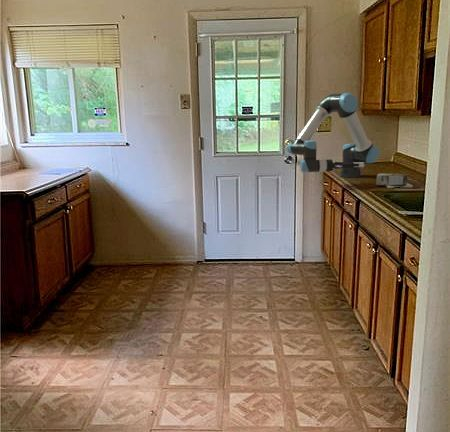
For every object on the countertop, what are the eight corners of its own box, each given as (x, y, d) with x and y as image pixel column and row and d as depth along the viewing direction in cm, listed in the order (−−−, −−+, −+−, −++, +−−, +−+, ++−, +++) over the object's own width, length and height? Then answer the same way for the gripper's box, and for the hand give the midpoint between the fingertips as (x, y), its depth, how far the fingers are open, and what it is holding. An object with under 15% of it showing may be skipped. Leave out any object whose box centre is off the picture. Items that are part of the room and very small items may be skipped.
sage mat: (378, 182, 294) (378, 181, 294) (401, 182, 294) (401, 180, 294) (388, 187, 276) (388, 186, 275) (412, 187, 275) (412, 185, 275)
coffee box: (376, 184, 281) (402, 187, 271) (376, 174, 279) (403, 176, 270) (380, 182, 288) (407, 184, 279) (381, 172, 286) (407, 174, 277)
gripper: (323, 170, 290) (360, 169, 289) (327, 173, 277) (366, 172, 277) (323, 158, 288) (360, 157, 288) (328, 160, 275) (367, 159, 275)
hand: (363, 164), depth 282 cm, fingers closed
